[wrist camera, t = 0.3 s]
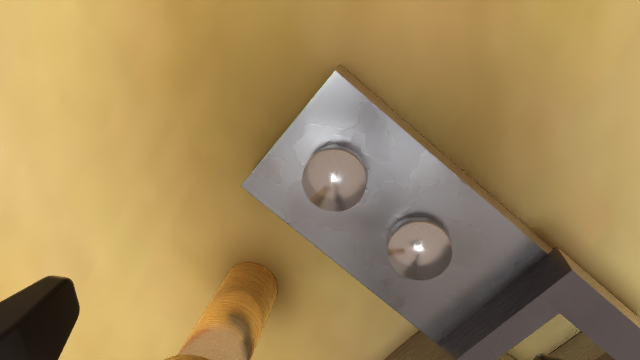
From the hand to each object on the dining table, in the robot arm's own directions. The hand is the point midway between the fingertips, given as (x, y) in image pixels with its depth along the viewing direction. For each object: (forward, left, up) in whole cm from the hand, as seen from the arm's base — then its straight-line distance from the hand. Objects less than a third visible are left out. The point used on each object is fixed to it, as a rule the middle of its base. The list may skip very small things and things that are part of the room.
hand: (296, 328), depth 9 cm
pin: (-10, -1, -15) cm, 18 cm away
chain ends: (-5, -7, -15) cm, 17 cm away
